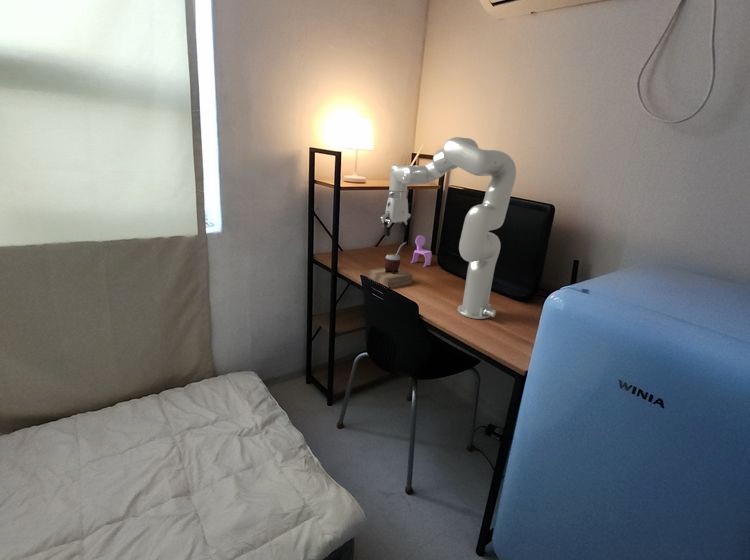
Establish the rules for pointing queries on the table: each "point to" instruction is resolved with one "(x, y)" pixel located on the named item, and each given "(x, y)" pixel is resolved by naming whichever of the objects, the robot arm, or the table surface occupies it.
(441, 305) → the table surface
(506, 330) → the table surface
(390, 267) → the mate gourd
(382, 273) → the cardboard box
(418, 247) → the toy chair
